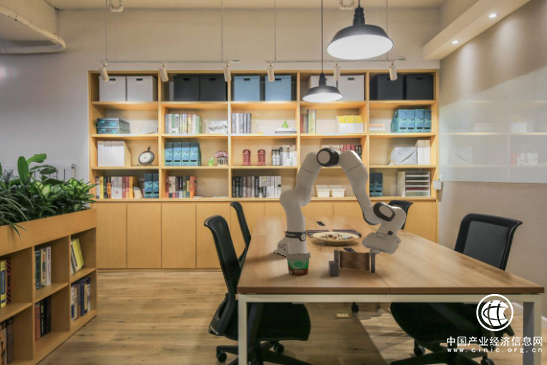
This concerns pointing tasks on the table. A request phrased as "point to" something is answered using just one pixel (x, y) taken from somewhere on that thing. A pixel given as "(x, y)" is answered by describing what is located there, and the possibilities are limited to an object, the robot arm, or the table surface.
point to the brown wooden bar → (354, 260)
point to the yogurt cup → (298, 263)
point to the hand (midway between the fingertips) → (370, 256)
